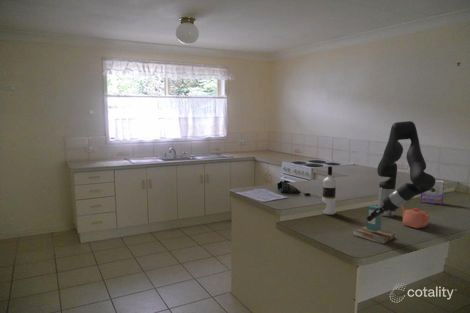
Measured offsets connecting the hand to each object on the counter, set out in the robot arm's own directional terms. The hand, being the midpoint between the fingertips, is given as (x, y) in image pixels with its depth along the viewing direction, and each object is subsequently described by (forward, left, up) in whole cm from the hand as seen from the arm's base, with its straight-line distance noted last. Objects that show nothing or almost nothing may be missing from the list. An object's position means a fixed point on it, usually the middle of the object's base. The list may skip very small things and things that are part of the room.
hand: (370, 218), depth 177 cm
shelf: (-1, +2, -9) cm, 9 cm away
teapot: (-35, +9, -9) cm, 37 cm away
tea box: (0, +2, -5) cm, 6 cm away
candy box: (-98, -2, -9) cm, 99 cm away
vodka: (-20, -37, -9) cm, 43 cm away
